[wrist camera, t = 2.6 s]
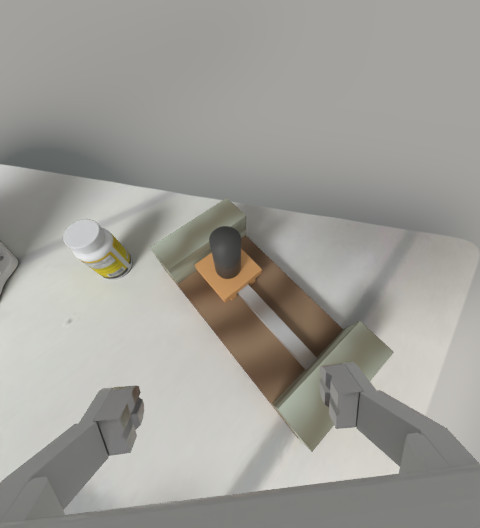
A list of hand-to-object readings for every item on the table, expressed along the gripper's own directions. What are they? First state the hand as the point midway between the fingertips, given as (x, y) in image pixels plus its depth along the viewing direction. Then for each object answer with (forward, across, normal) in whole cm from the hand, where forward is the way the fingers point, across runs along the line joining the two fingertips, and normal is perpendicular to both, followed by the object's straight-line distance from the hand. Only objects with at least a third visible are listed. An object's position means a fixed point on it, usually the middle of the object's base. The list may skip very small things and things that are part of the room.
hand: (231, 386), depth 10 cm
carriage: (+21, 0, +3) cm, 21 cm away
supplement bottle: (+25, +16, +1) cm, 30 cm away
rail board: (+19, -3, +7) cm, 21 cm away
